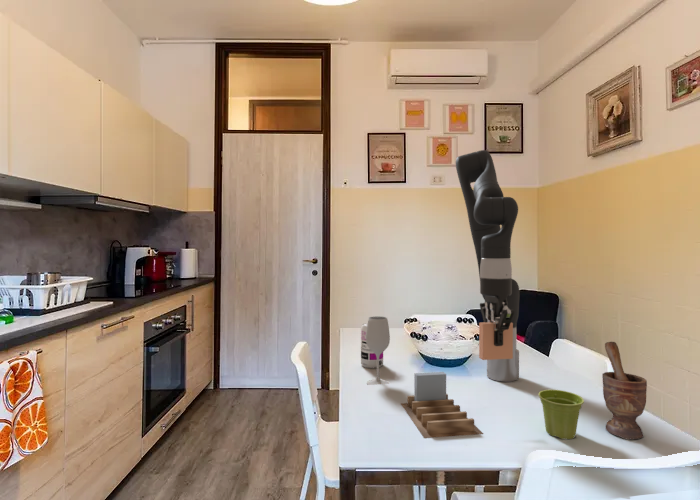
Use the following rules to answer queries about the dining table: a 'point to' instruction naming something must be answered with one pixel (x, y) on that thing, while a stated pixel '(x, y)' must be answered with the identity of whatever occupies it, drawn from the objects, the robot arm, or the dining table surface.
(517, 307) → the robot arm
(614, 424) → the mortar and pestle
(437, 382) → the grey-blue thick slab
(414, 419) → the dish rack
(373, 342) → the wineglass
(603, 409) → the dining table surface
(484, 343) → the salmon pink rectangular prism
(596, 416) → the dining table surface
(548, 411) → the plant pot
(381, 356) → the supplement can
